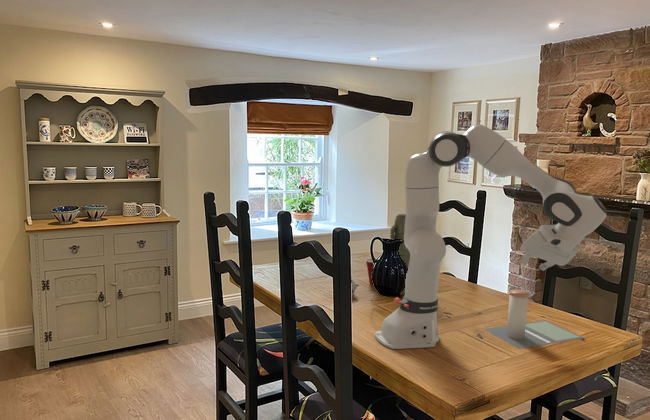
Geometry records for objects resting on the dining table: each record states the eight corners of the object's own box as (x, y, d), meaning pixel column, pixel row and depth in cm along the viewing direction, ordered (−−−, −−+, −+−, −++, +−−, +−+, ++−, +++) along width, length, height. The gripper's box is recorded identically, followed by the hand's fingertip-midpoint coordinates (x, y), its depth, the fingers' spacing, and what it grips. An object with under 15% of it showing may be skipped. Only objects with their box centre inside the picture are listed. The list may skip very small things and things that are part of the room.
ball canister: (514, 340, 176) (518, 295, 174) (502, 333, 182) (505, 290, 180) (528, 338, 179) (532, 293, 176) (516, 331, 184) (519, 288, 182)
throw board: (518, 351, 170) (519, 348, 170) (483, 331, 186) (483, 328, 186) (584, 340, 180) (584, 337, 180) (545, 322, 197) (545, 320, 197)
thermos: (416, 292, 231) (420, 215, 226) (396, 296, 224) (400, 217, 219) (403, 287, 238) (407, 212, 233) (383, 291, 232) (386, 214, 227)
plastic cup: (387, 281, 247) (388, 257, 245) (387, 288, 236) (388, 262, 235) (364, 280, 248) (365, 256, 246) (364, 286, 237) (364, 261, 236)
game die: (350, 304, 223) (359, 291, 217) (332, 297, 223) (340, 283, 217) (354, 289, 230) (362, 276, 224) (336, 282, 230) (344, 268, 223)
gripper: (576, 239, 173) (546, 265, 180) (538, 223, 164) (507, 252, 170) (587, 252, 169) (555, 279, 176) (548, 237, 159) (516, 266, 166)
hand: (532, 265), depth 173 cm, fingers open, 8 cm apart
